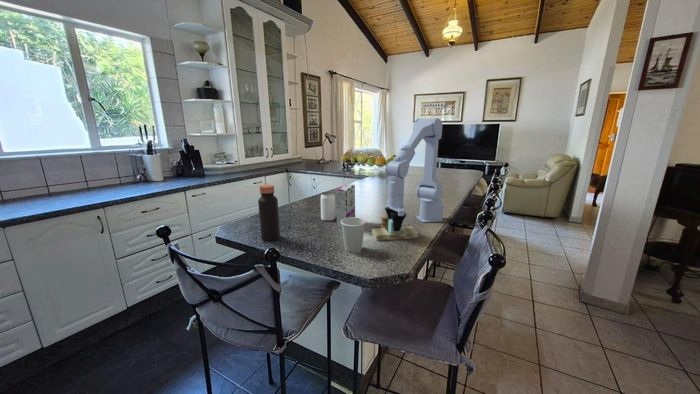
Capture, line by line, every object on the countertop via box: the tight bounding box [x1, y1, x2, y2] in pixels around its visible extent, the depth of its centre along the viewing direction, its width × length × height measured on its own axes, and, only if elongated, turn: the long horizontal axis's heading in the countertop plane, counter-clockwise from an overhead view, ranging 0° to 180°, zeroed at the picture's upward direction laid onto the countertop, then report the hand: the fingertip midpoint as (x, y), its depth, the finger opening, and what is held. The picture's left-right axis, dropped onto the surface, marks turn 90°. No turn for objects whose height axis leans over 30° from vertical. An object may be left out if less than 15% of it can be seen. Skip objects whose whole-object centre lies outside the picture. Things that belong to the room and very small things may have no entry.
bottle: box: [257, 184, 281, 242], centre depth 100 cm, size 7×7×20 cm
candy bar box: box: [335, 183, 356, 229], centre depth 116 cm, size 11×5×16 cm, turn 161°
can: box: [320, 191, 336, 222], centre depth 123 cm, size 6×6×12 cm
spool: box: [379, 213, 388, 231], centre depth 113 cm, size 6×6×5 cm
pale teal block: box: [387, 219, 403, 234], centre depth 104 cm, size 4×4×6 cm
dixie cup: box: [341, 216, 367, 253], centre depth 92 cm, size 8×8×10 cm
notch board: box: [371, 226, 419, 241], centre depth 105 cm, size 16×7×2 cm, turn 99°
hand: (394, 228), depth 104 cm, fingers open, 5 cm apart
